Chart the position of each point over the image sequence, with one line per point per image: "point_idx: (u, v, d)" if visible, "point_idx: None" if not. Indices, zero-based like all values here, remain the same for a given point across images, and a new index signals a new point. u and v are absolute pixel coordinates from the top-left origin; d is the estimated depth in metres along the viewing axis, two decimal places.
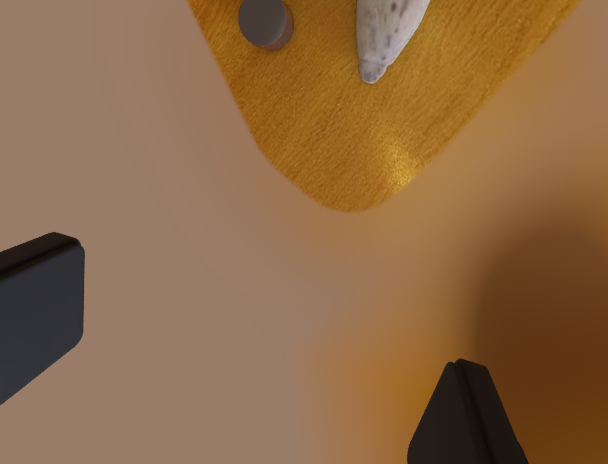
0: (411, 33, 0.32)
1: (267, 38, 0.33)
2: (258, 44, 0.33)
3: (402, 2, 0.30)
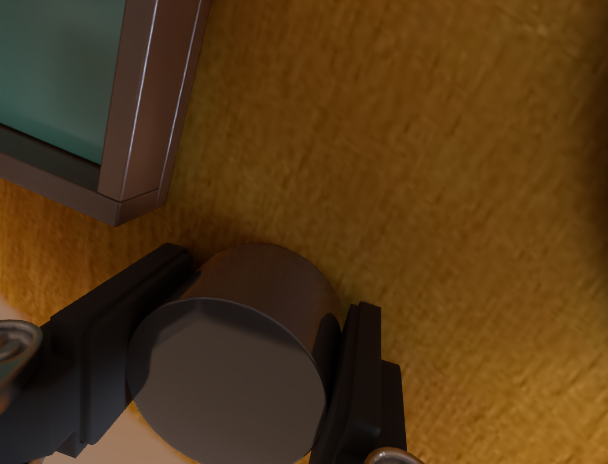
0: None
1: (269, 451, 0.08)
2: None
3: None
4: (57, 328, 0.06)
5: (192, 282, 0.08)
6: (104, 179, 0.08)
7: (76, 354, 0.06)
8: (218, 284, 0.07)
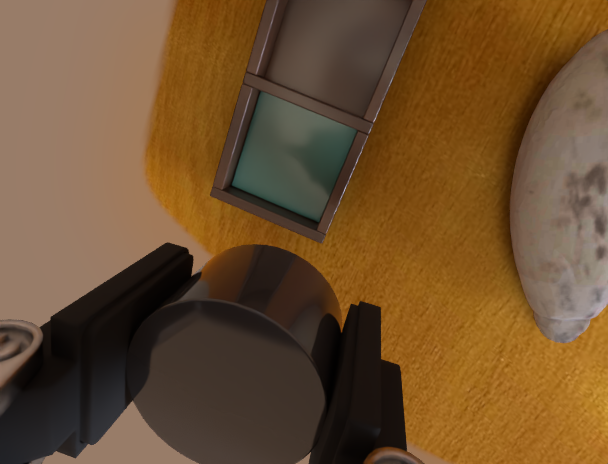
0: None
1: (269, 453, 0.08)
2: None
3: None
4: (57, 328, 0.06)
5: (192, 283, 0.08)
6: (320, 225, 0.21)
7: (76, 354, 0.06)
8: (218, 285, 0.07)
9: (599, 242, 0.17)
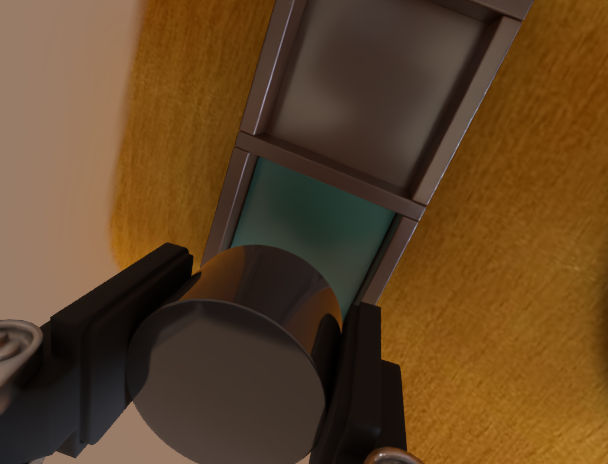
0: None
1: (268, 453, 0.08)
2: None
3: None
4: (57, 328, 0.06)
5: (192, 283, 0.08)
6: None
7: (76, 354, 0.06)
8: (218, 285, 0.07)
9: None
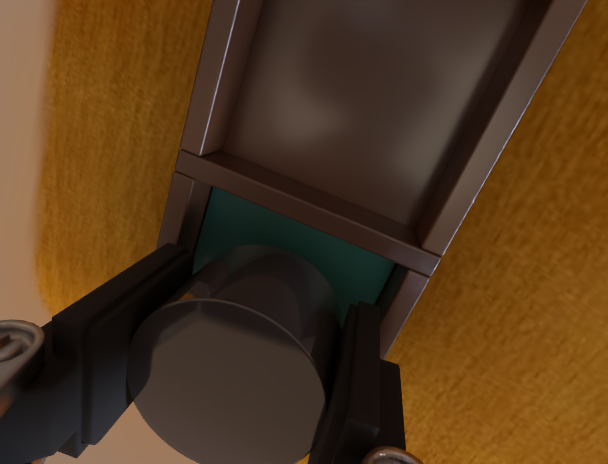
0: None
1: (269, 452, 0.08)
2: None
3: None
4: (59, 328, 0.06)
5: (192, 283, 0.08)
6: None
7: (78, 354, 0.06)
8: (218, 285, 0.07)
9: None
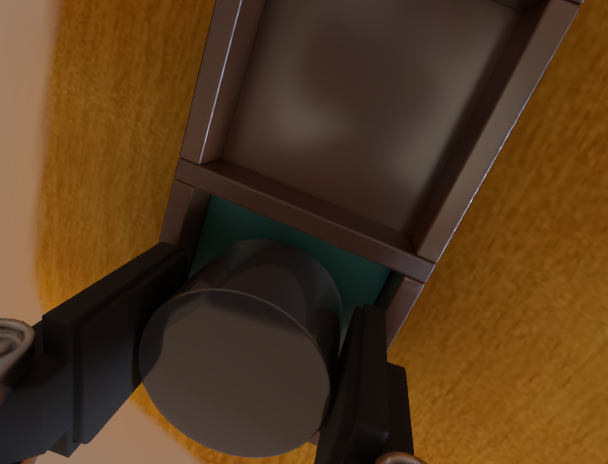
0: None
1: (275, 435, 0.08)
2: (249, 454, 0.09)
3: None
4: (49, 327, 0.06)
5: (201, 275, 0.08)
6: None
7: (68, 353, 0.06)
8: (227, 276, 0.08)
9: None
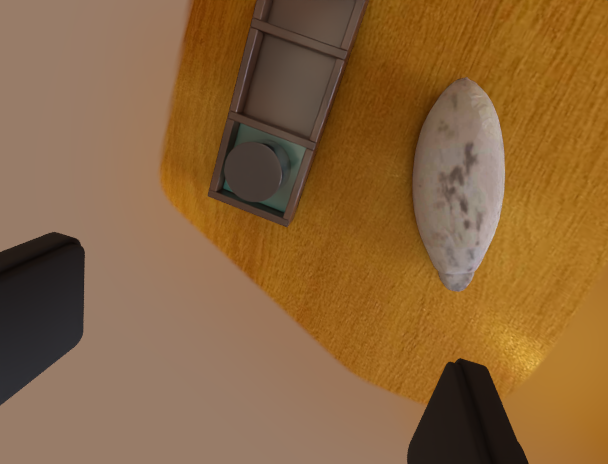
0: (493, 235, 0.27)
1: (266, 191, 0.27)
2: (258, 200, 0.28)
3: (475, 217, 0.25)
4: None
5: None
6: (285, 214, 0.29)
7: None
8: (251, 141, 0.27)
9: (464, 217, 0.25)
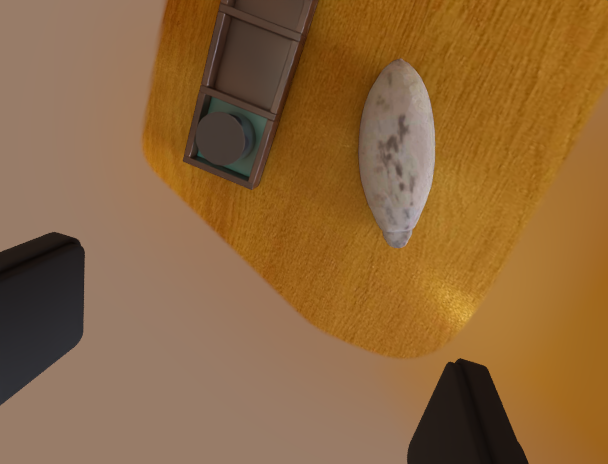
0: (426, 197, 0.31)
1: (231, 155, 0.31)
2: (225, 164, 0.32)
3: (408, 180, 0.30)
4: None
5: None
6: (250, 178, 0.33)
7: None
8: None
9: (399, 180, 0.30)
